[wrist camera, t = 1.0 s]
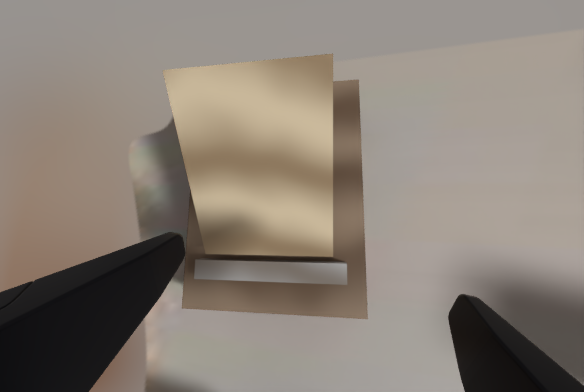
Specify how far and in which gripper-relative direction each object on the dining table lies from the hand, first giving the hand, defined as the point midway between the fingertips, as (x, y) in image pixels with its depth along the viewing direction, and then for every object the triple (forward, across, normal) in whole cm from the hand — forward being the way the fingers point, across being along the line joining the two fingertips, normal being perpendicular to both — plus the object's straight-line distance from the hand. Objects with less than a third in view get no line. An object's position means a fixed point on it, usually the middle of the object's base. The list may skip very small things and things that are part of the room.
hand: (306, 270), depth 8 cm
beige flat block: (+15, +5, +6) cm, 17 cm away
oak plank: (+9, +5, 0) cm, 10 cm away
